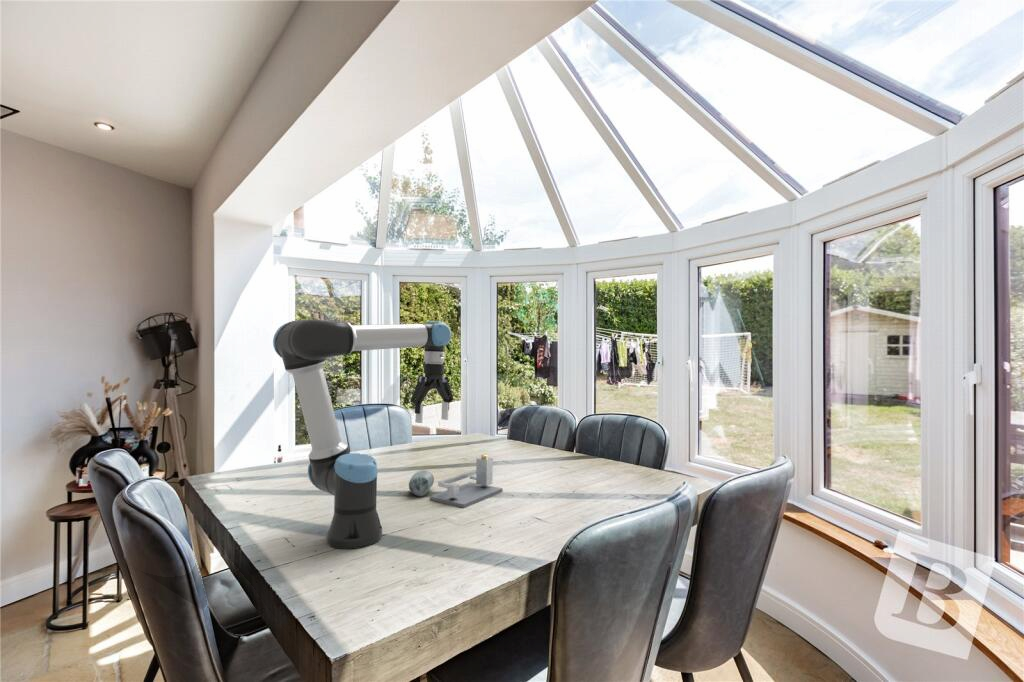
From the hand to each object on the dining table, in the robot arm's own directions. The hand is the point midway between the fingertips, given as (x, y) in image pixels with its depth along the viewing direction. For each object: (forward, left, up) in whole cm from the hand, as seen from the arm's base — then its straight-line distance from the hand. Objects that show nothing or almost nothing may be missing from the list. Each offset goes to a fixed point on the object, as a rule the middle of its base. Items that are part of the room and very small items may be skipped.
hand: (432, 421), depth 173 cm
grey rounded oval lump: (+5, +10, -29) cm, 31 cm away
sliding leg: (+22, -6, -27) cm, 35 cm away
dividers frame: (+13, -5, -28) cm, 31 cm away
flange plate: (+12, -7, -29) cm, 32 cm away
